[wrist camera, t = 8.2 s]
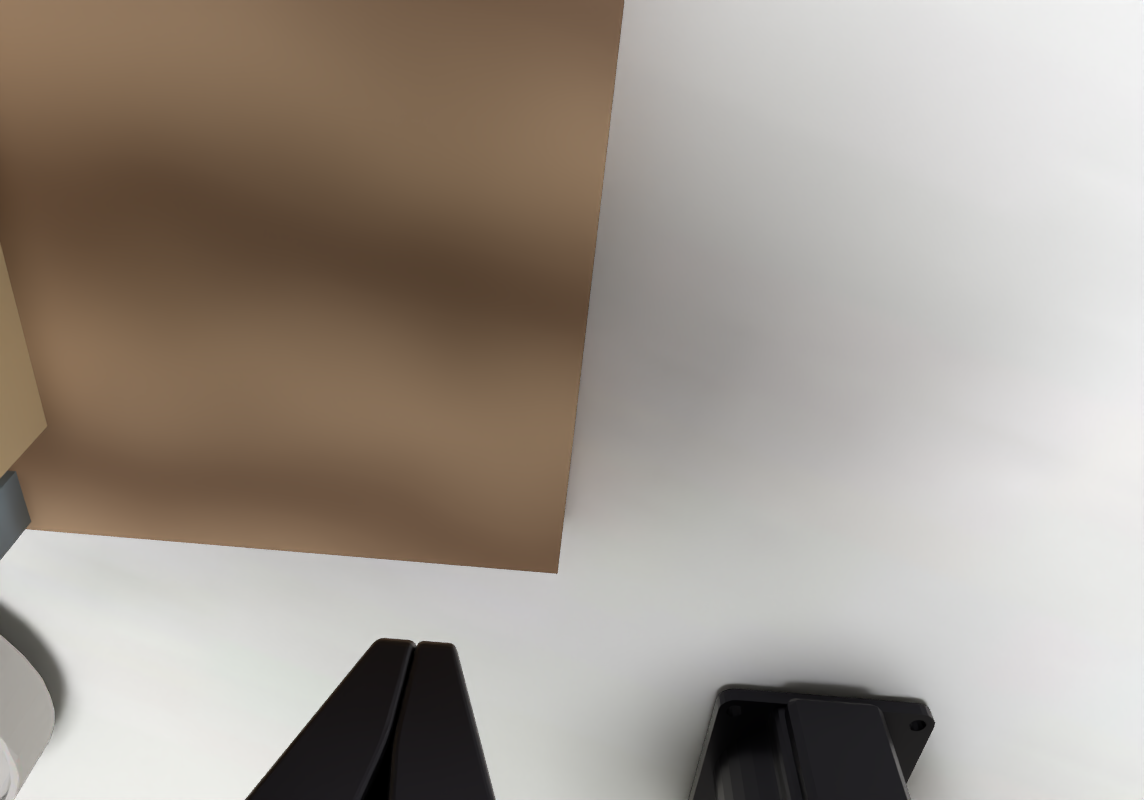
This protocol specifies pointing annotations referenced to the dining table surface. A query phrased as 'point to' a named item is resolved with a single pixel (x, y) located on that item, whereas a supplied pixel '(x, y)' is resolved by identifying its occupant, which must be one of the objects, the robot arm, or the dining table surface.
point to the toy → (21, 719)
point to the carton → (15, 382)
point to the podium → (304, 268)
